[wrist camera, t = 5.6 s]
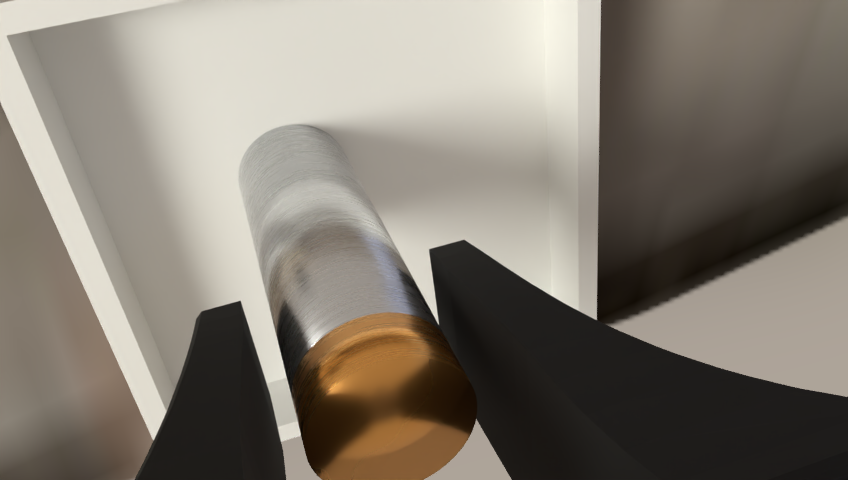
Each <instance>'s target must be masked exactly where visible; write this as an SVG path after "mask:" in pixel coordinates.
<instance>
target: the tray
mask: <svg viewBox="0 0 848 480" xmlns="http://www.w3.org/2000/svg"><path fill="white" fill-rule="evenodd" d="M600 30H601V0H0V102H1V105H2V107H3V109H4V111H5V114H6V116H7V118H8V120H9V122H10V125H11V127H12V129H13V131H14V133H15V136H16V138H17V140H18V142H19V144H20V147H21V149H22V151H23V153H24V156H25V158H26V160H27V162H28V164H29V167H30V169H31V171H32V173H33V175H34V178H35V180H36V182H37V184H38V186H39V189H40V191H41V193H42V195H43V197H44V200H45V202H46V204H47V206H48V209H49V211H50V213H51V215H52V217H53V220H54V222H55V224H56V226H57V228H58V231H59V233H60V235H61V237H62V239H63V242H64V244H65V246H66V248H67V251H68V253H69V255H70V257H71V259H72V262H73V264H74V266H75V268H76V270H77V273H78V275H79V277H80V279H81V281H82V284H83V286H84V288H85V290H86V293H87V295H88V297H89V299H90V301H91V304H92V306H93V308H94V310H95V312H96V315H97V317H98V319H99V321H100V323H101V326H102V328H103V330H104V332H105V335H106V337H107V339H108V341H109V343H110V346H111V348H112V350H113V352H114V354H115V357H116V359H117V361H118V363H119V365H120V368H121V370H122V372H123V374H124V377H125V379H126V381H127V383H128V385H129V388H130V390H131V392H132V394H133V396H134V399H135V401H136V403H137V405H138V407H139V410H140V412H141V414H142V416H143V419H144V421H145V423H146V425H147V427H148V430H149V432H150V434H151V436H152V438H153V441H154V439H155V437H156V434H157V432H158V430H159V428H160V426H161V423H162V421H163V419H164V417H165V414H166V412H167V409H168V407H169V404H170V402H171V399H172V396H173V393H174V391H175V388H176V385H177V383H178V380H179V377H180V375H181V372H182V369H183V366H184V363H185V359H186V356H187V353H188V350H189V346H190V343H191V339H192V335H193V331H194V327H195V322H196V318H197V317H198V316H199V314H200V313H201V311H204V310H208V309H212V308H215V307H219V306H223V305H226V304H230V303H234V302H237V301H241V303H242V307H243V310H244V313H245V316H246V319H247V323H248V326H249V329H250V332H251V335H252V338H253V342H254V345H255V348H256V351H257V354H258V358H259V361H260V364H261V367H262V370H263V373H264V377H265V380H266V383H267V386H268V389H269V393H270V396H271V400H272V405H273V409H274V413H275V418H276V422H277V426H278V431H279V435H280V440H281V442H282V441H285V440H288V439H292V438H295V437H298V436H301V433H300V429H299V425H298V421H297V417H296V413H295V409H294V405H293V401H292V397H291V393H290V388H289V384H288V380H287V376H286V372H285V368H284V364H283V360H282V356H281V352H280V348H279V344H278V340H277V336H276V332H275V328H274V324H273V320H272V316H271V312H270V308H269V304H268V300H267V296H266V292H265V288H264V284H263V280H262V276H261V272H260V268H259V264H258V260H257V256H256V252H255V248H254V244H253V240H252V236H251V232H250V228H249V224H248V220H247V216H246V212H245V208H244V204H243V200H242V196H241V192H240V188H239V181H238V172H239V166H240V163H241V160H242V158H243V156H244V154H245V152H246V151H247V149H248V148H249V146H250V145H251V144H252V143H253V142H254V141H255V140H256V139H257V138H258V137H260V136H261V135H263V134H264V133H266V132H268V131H270V130H272V129H274V128H277V127H280V126H285V125H292V124H302V125H309V126H313V127H316V128H318V129H321V130H323V131H325V132H326V133H328V134H329V135H331V136H332V137H333V138H334V139H335V140H336V141H337V142H338V143H339V145H340V146H341V147H342V149H343V151H344V153H345V154H346V156H347V158H348V160H349V162H350V164H351V165H352V167H353V169H354V171H355V173H356V175H357V176H358V178H359V180H360V182H361V184H362V186H363V187H364V189H365V191H366V193H367V195H368V197H369V198H370V200H371V202H372V204H373V206H374V207H375V209H376V211H377V213H378V215H379V217H380V218H381V220H382V222H383V224H384V226H385V228H386V229H387V231H388V233H389V235H390V237H391V239H392V240H393V242H394V244H395V246H396V248H397V249H398V251H399V253H400V255H401V257H402V259H403V260H404V262H405V264H406V266H407V268H408V270H409V271H410V273H411V275H412V277H413V279H414V281H415V282H416V284H417V286H418V288H419V290H420V291H421V293H422V295H423V297H424V299H425V301H426V302H427V304H428V306H429V308H430V310H431V312H432V313H433V315H434V317H435V319H436V321H437V323H438V324H439V321H438V313H437V306H436V299H435V291H434V284H433V276H432V269H431V262H430V254H429V249H432V248H435V247H439V246H443V245H446V244H450V243H454V242H457V241H461V240H466V241H467V242H469V243H470V244H472V245H473V246H475V247H476V248H478V249H479V250H481V251H482V252H484V253H485V254H487V255H488V256H490V257H491V258H493V259H494V260H496V261H497V262H499V263H500V264H502V265H503V266H505V267H506V268H508V269H509V270H511V271H512V272H514V273H516V274H517V275H519V276H520V277H522V278H523V279H525V280H526V281H528V282H530V283H531V284H533V285H534V286H536V287H538V288H539V289H541V290H543V291H544V292H546V293H548V294H549V295H551V296H553V297H554V298H556V299H558V300H560V301H561V302H563V303H565V304H567V305H568V306H570V307H572V308H574V309H576V310H578V311H580V312H582V313H584V314H586V315H588V316H590V317H592V318H593V319H595V320H597V258H598V182H599V106H600Z"/></svg>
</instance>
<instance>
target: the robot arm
mask: <svg viewBox="0 0 848 480" xmlns="http://www.w3.org/2000/svg"><path fill="white" fill-rule="evenodd" d="M429 254H430V262H431V269H432V276H433V284H434V291H435V299H436V306H437V313H438V321H439V326H440V328H441V330H442V332H443V333H444V335H445V337H446V339H447V341H448V343H449V344H450V346H451V348H452V350H453V352H454V354H455V355H456V357H457V359H458V361H459V363H460V365H461V366H462V368H463V370H464V372H465V374H466V375H467V377H468V379H469V381H470V383H471V385H472V387H473V389H474V391H475V394H476V398H477V417H476V419H477V421H478V422H479V424H480V426H481V428H482V429H483V431H484V433H485V435H486V436H487V438H488V439H489V441H490V443H491V445H492V447H493V448H494V450H495V452H496V453H497V455H498V457H499V458H500V460H501V462H502V464H503V465H504V467H505V469H506V471H507V472H508V474H509V476H510V477H511V479H512V480H848V397H843V396H839V395H833V394H828V393H822V392H816V391H810V390H805V389H800V388H795V387H790V386H786V385H782V384H778V383H774V382H770V381H766V380H762V379H758V378H753V377H749V376H746V375H742V374H739V373H735V372H731V371H728V370H724V369H721V368H717V367H714V366H711V365H708V364H705V363H702V362H699V361H696V360H693V359H690V358H687V357H684V356H681V355H678V354H675V353H672V352H670V351H667V350H664V349H662V348H659V347H656V346H654V345H652V344H649V343H647V342H644V341H642V340H640V339H637V338H635V337H632V336H630V335H628V334H625V333H623V332H620V331H618V330H616V329H614V328H612V327H610V326H608V325H605V324H603V323H601V322H599V321H597V320H595V319H593V318H592V317H590V316H588V315H586V314H584V313H582V312H580V311H578V310H576V309H574V308H572V307H570V306H568V305H567V304H565V303H563V302H561V301H560V300H558V299H556V298H554V297H553V296H551V295H549V294H548V293H546V292H544V291H543V290H541V289H539V288H538V287H536V286H534V285H533V284H531V283H530V282H528V281H526V280H525V279H523V278H522V277H520V276H519V275H517V274H516V273H514V272H512V271H511V270H509V269H508V268H506V267H505V266H503V265H502V264H500V263H499V262H497V261H496V260H494V259H493V258H491V257H490V256H488V255H487V254H485V253H484V252H482V251H481V250H479V249H478V248H476V247H475V246H473V245H472V244H470V243H469V242H467V241H466V240H461V241H457V242H454V243H450V244H446V245H443V246H439V247H435V248H432V249H429ZM135 480H286V475H285V465H284V456H283V449H282V444H281V440H280V435H279V431H278V426H277V422H276V418H275V413H274V409H273V405H272V400H271V396H270V393H269V389H268V386H267V383H266V380H265V377H264V373H263V370H262V367H261V364H260V361H259V358H258V354H257V351H256V348H255V345H254V342H253V338H252V335H251V332H250V329H249V326H248V323H247V319H246V316H245V313H244V310H243V307H242V303H241V301H237V302H234V303H230V304H226V305H223V306H219V307H215V308H212V309H208V310H204V311H201V313H200V314H199V316H198V317H197V318H196V322H195V327H194V331H193V335H192V339H191V343H190V346H189V350H188V353H187V356H186V359H185V363H184V366H183V369H182V372H181V375H180V377H179V380H178V383H177V385H176V388H175V391H174V393H173V396H172V399H171V402H170V404H169V407H168V409H167V412H166V414H165V417H164V419H163V421H162V423H161V426H160V428H159V430H158V432H157V434H156V437H155V439H154V441H153V443H152V445H151V448H150V450H149V452H148V454H147V456H146V458H145V460H144V462H143V464H142V466H141V468H140V470H139V472H138V474H137V476H136V478H135Z"/></svg>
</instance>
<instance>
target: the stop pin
mask: <svg viewBox="0 0 848 480" xmlns="http://www.w3.org/2000/svg"><path fill="white" fill-rule="evenodd" d="M238 181H239V188H240V192H241V196H242V200H243V204H244V208H245V212H246V216H247V220H248V224H249V228H250V232H251V236H252V240H253V244H254V248H255V252H256V256H257V260H258V264H259V268H260V272H261V276H262V280H263V284H264V288H265V292H266V296H267V300H268V304H269V308H270V312H271V316H272V320H273V324H274V328H275V332H276V336H277V340H278V344H279V348H280V352H281V356H282V360H283V364H284V368H285V372H286V376H287V380H288V384H289V388H290V393H291V397H292V401H293V405H294V409H295V413H296V417H297V421H298V425H299V429H300V433H301V437H302V440H303V445H304V448H305V453H306V456H307V459H308V462H309V464H310V466H311V468H312V469H313V471H314V472H315V473H316V474H317V476H319V477H320V478H321V479H322V480H424V479H425V478H427V477H429V476H431V475H432V474H434V473H435V472H437V471H438V470H440V469H441V468H442V467H443V466H445V465H446V464H447V463H448V462H450V460H451V459H453V458H454V457H455V456H456V455H457V453H458V452H459V451H460V450H461V449H462V447H463V446H464V444H465V443H466V441H467V440H468V438H469V436H470V434H471V432H472V430H473V427H474V424H475V421H476V417H477V398H476V394H475V391H474V389H473V387H472V385H471V383H470V381H469V379H468V377H467V375H466V374H465V372H464V370H463V368H462V366H461V365H460V363H459V361H458V359H457V357H456V355H455V354H454V352H453V350H452V348H451V346H450V344H449V343H448V341H447V339H446V337H445V335H444V333H443V332H442V330H441V328H440V326H439V324H438V323H437V321H436V319H435V317H434V315H433V313H432V312H431V310H430V308H429V306H428V304H427V302H426V301H425V299H424V297H423V295H422V293H421V291H420V290H419V288H418V286H417V284H416V282H415V281H414V279H413V277H412V275H411V273H410V271H409V270H408V268H407V266H406V264H405V262H404V260H403V259H402V257H401V255H400V253H399V251H398V249H397V248H396V246H395V244H394V242H393V240H392V239H391V237H390V235H389V233H388V231H387V229H386V228H385V226H384V224H383V222H382V220H381V218H380V217H379V215H378V213H377V211H376V209H375V207H374V206H373V204H372V202H371V200H370V198H369V197H368V195H367V193H366V191H365V189H364V187H363V186H362V184H361V182H360V180H359V178H358V176H357V175H356V173H355V171H354V169H353V167H352V165H351V164H350V162H349V160H348V158H347V156H346V154H345V153H344V151H343V149H342V147H341V146H340V145H339V143H338V142H337V141H336V140H335V139H334V138H333V137H332V136H331V135H329V134H328V133H326V132H325V131H323V130H321V129H318V128H316V127H313V126H309V125H302V124H292V125H285V126H280V127H277V128H274V129H272V130H270V131H268V132H266V133H264V134H263V135H261V136H260V137H258V138H257V139H256V140H255V141H254V142H253V143H252V144H251V145H250V146H249V148H248V149H247V151H246V152H245V154H244V156H243V158H242V160H241V163H240V166H239V172H238Z"/></svg>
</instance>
